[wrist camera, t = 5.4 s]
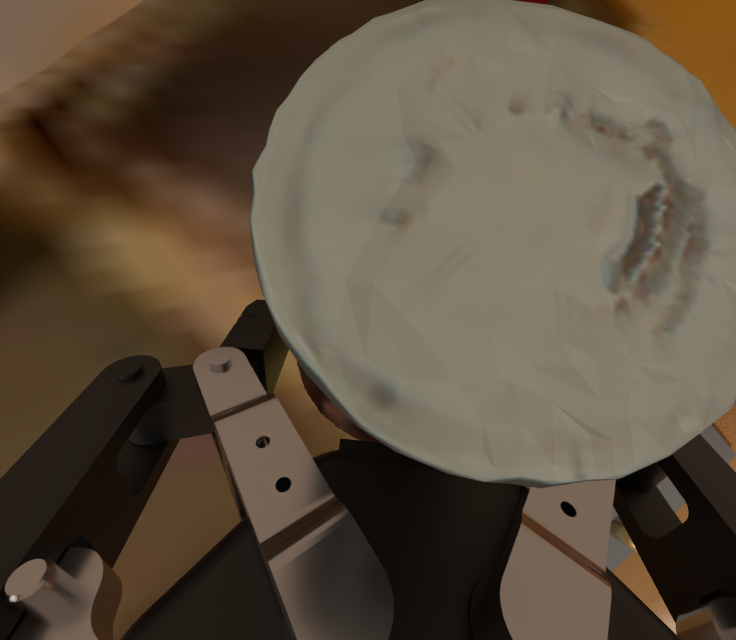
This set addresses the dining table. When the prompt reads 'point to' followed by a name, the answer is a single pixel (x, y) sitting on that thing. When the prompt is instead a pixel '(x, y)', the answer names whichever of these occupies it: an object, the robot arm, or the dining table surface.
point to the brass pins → (621, 534)
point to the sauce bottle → (503, 242)
